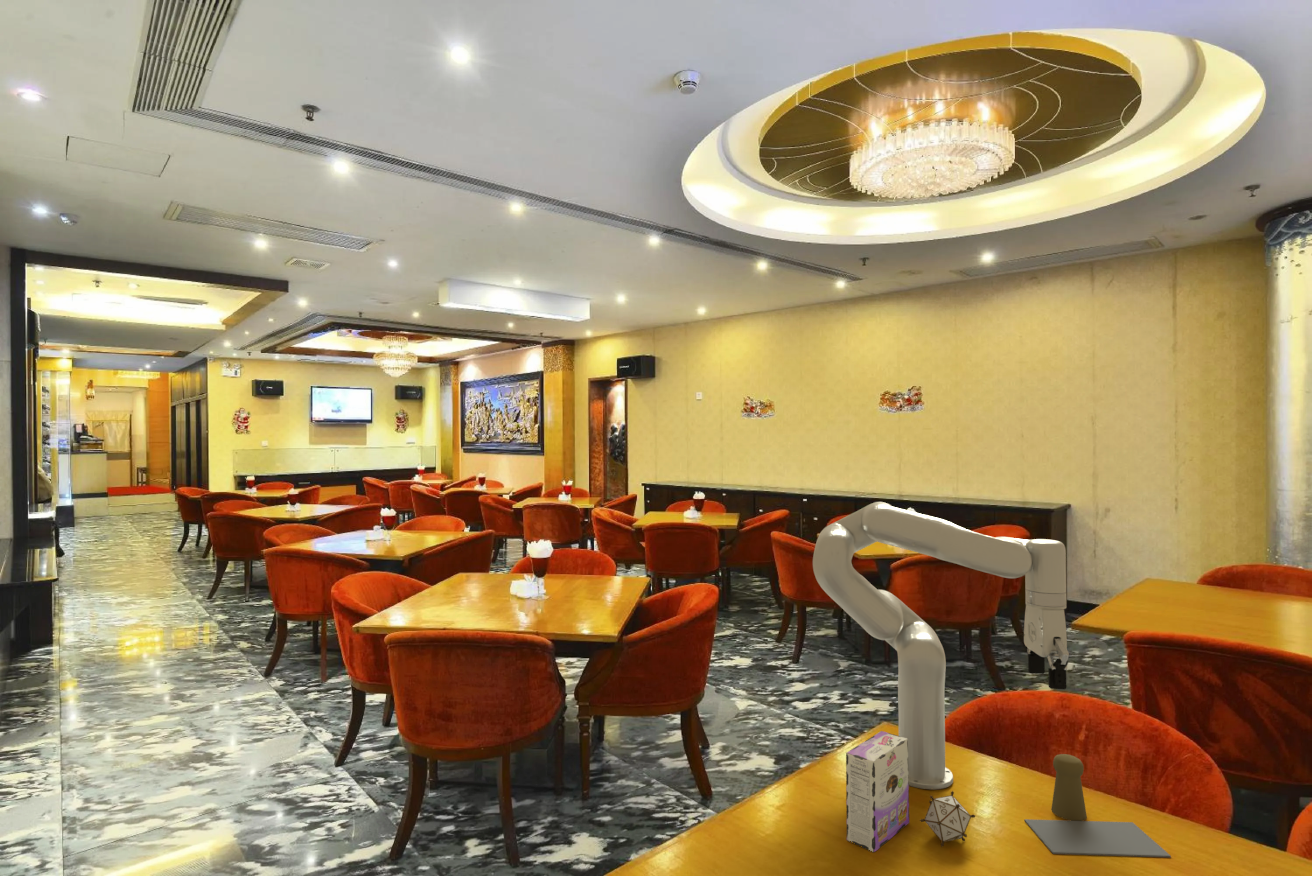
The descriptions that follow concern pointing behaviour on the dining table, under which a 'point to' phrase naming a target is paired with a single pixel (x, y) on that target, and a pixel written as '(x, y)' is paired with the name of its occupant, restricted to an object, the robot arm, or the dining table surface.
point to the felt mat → (1095, 838)
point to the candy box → (877, 790)
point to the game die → (947, 818)
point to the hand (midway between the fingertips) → (1046, 680)
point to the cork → (1068, 788)
